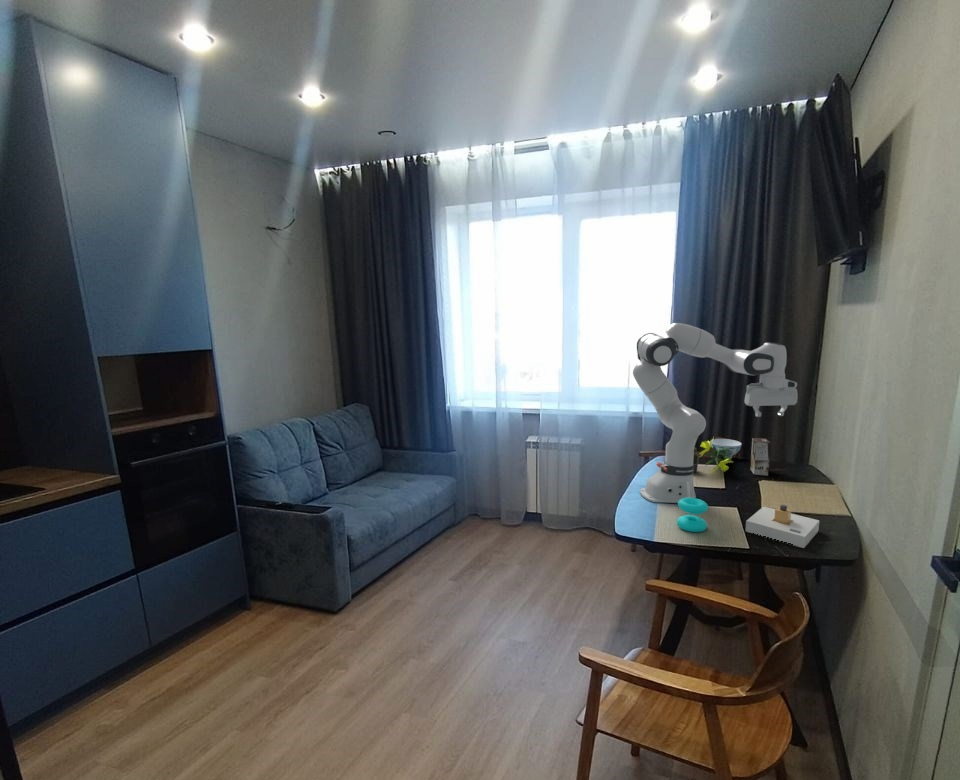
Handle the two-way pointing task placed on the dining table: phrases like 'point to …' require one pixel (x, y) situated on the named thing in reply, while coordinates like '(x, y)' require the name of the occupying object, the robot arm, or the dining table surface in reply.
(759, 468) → the coffee box
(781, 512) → the tan rectangular block
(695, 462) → the supplement bottle
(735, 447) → the chinaware
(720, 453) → the daffodil flowers
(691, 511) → the donuts
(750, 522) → the socket block
